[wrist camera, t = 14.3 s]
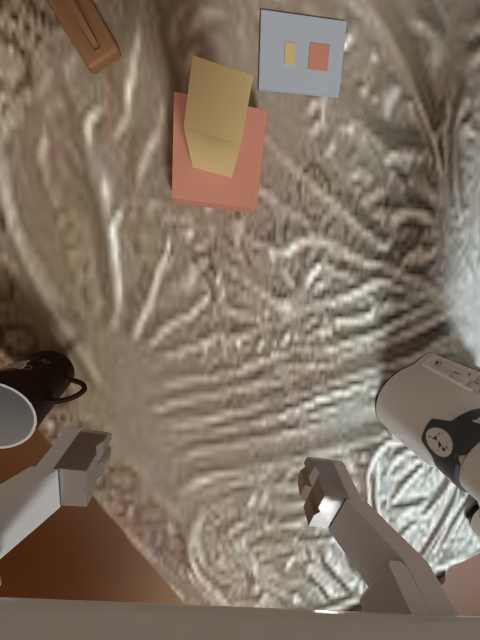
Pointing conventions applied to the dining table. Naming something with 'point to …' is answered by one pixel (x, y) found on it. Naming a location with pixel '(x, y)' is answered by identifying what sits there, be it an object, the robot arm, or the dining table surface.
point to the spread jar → (475, 519)
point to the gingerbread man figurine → (86, 32)
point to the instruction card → (300, 54)
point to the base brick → (216, 188)
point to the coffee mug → (32, 393)
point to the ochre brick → (215, 115)
